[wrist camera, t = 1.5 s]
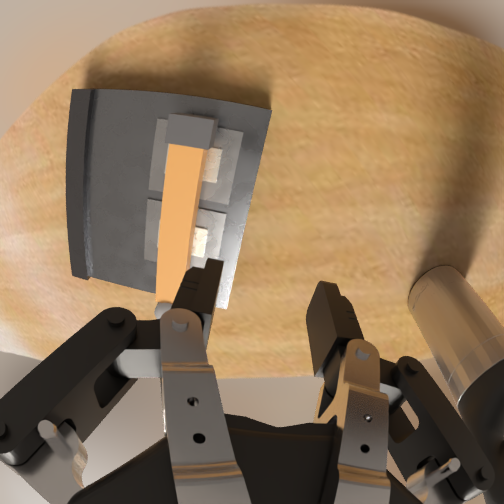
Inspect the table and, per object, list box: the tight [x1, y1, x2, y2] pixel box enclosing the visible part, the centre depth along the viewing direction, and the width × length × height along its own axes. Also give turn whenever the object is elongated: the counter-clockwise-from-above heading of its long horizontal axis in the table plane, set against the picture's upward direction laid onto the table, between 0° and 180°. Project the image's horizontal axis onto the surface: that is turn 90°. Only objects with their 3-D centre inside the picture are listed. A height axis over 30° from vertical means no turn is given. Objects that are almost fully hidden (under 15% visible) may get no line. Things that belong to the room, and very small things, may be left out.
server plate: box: [66, 89, 272, 309], centre depth 29 cm, size 20×22×4 cm
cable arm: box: [155, 112, 219, 319], centre depth 27 cm, size 4×21×3 cm, turn 168°
